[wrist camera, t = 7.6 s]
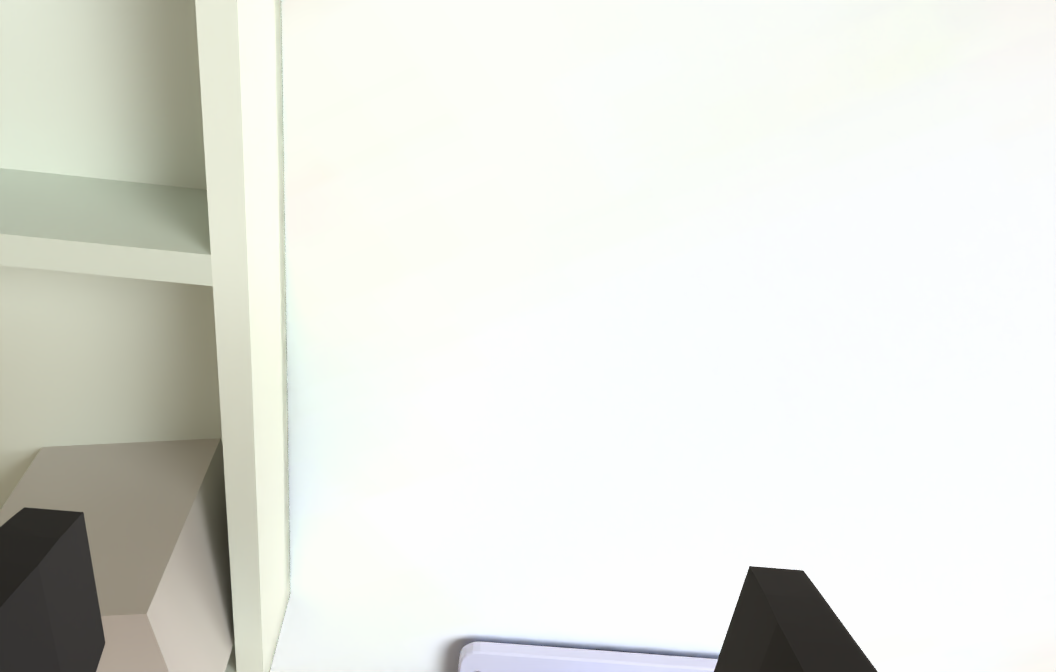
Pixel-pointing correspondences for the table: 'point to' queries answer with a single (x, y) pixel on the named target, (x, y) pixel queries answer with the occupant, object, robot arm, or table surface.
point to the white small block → (147, 546)
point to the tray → (151, 255)
